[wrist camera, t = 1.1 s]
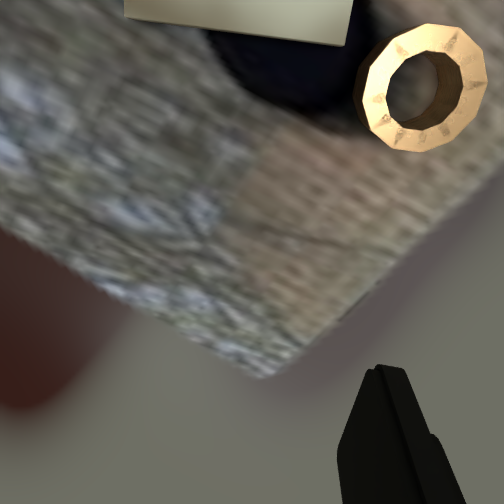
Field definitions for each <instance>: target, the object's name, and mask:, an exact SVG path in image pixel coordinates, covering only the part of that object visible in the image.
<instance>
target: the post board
mask: <svg viewBox="0 0 504 504" xmlns="http://www.w3.org/2000/svg"><path fill="white" fill-rule="evenodd" d="M352 4H353V0H124V17H127V18H130V19H134V20H139V21H147V22H155V23H162V24H170V25H178V26H185V27H193V28H200V29H208V30H216V31H223V32H231V33H239V34H246V35H254V36H262V37H269V38H277V39H285V40H292V41H300V42H308V43H315V44H323V45H331V46H338V47H341V46H344V44H345V39H346V34H347V29H348V24H349V19H350V14H351V9H352Z"/></svg>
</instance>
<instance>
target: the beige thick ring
mask: <svg viewBox="0 0 504 504" xmlns="http://www.w3.org/2000/svg"><path fill="white" fill-rule="evenodd" d="M416 54H424V55H425V56H426V57H427V58H428V59H429V60H430V61H431V62H432V63H433V64H434V65H435V66H436V70H437V74H438V79H439V86H438V89H437V93H436V96H435V99H434V102H433V103H432V104H431V105H430V106H429V107H428V108H427V109H426V111H425V112H424V113H423V114H422V115H421V116H419V117H416V118H414V119H411V120H409V121H406V122H399V121H395V120H393V119H392V118H391V117H390V115H389V111H388V107H387V103H386V100H385V96H386V92H387V88H388V84H389V80H390V77H391V75H392V74H393V73H394V72H395V71H396V69H397V68H398V67H399V66H400V65H401V63H402V62H403V61H404V60H405V59H407V58H409V57H411V56H413V55H416ZM487 83H488V82H487V76H486V70H485V64H484V58H483V51H482V49H481V48H480V47H479V46H478V45H477V44H476V43H475V42H474V41H473V40H472V39H471V38H470V37H469V36H468V35H467V34H466V33H465V32H464V31H463V30H462V29H461V28H457V27H450V26H442V25H434V24H423V25H419V26H416V27H412V28H408V29H405V30H403V31H401V32H399V33H397V34H395V35H392V36H390V37H388V38H386V39H384V40H381V41H379V42H378V43H377V44H376V45H375V47H374V48H373V49H372V50H371V52H370V53H369V54H368V55H367V57H366V58H365V59H364V60H363V62H362V63H361V64H360V65H359V67H358V71H357V75H356V80H355V85H354V89H353V94H352V98H353V101H354V104H355V108H356V111H357V114H358V118H359V121H360V122H361V123H362V124H363V125H364V126H365V127H367V128H368V129H369V130H370V131H371V132H372V133H374V134H375V135H376V136H377V137H378V138H379V139H381V140H382V141H383V142H385V143H386V144H387V145H388V146H390V147H391V148H392V149H400V150H407V151H415V152H424V151H426V150H429V149H432V148H434V147H437V146H439V145H442V144H445V143H447V142H450V141H452V140H453V139H454V138H455V137H456V136H457V135H458V134H459V133H460V132H461V131H462V130H463V129H464V128H465V127H466V126H467V125H468V124H469V123H470V122H471V121H472V120H473V118H474V117H475V116H476V114H477V112H478V109H479V106H480V103H481V100H482V98H483V95H484V92H485V89H486V86H487Z"/></svg>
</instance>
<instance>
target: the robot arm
mask: <svg viewBox="0 0 504 504" xmlns="http://www.w3.org/2000/svg"><path fill="white" fill-rule="evenodd" d="M337 464H338V472H339V480H340V487H341V494H342V502H343V504H466V502H465V499H464V497H463V495H462V492H461V490H460V487H459V485H458V483H457V480H456V478H455V476H454V473H453V471H452V468H451V466H450V463H449V461H448V459H447V456H446V454H445V451H444V449H443V447H442V445H441V443H440V441H439V439H438V438H437V437H436V436H435V435H434V434H430V432H429V429H428V427H427V424H426V422H425V419H424V417H423V414H422V412H421V409H420V407H419V404H418V402H417V399H416V397H415V394H414V392H413V389H412V387H411V384H410V382H409V379H408V377H407V374H406V372H405V370H404V369H402V368H398V367H393V366H387V365H380V364H377V365H376V366H375V368H374V370H373V369H368V370H367V371H366V373H365V376H364V379H363V381H362V384H361V387H360V389H359V392H358V395H357V397H356V400H355V402H354V405H353V408H352V410H351V413H350V416H349V418H348V421H347V424H346V426H345V429H344V432H343V434H342V437H341V440H340V442H339V445H338V450H337Z"/></svg>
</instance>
